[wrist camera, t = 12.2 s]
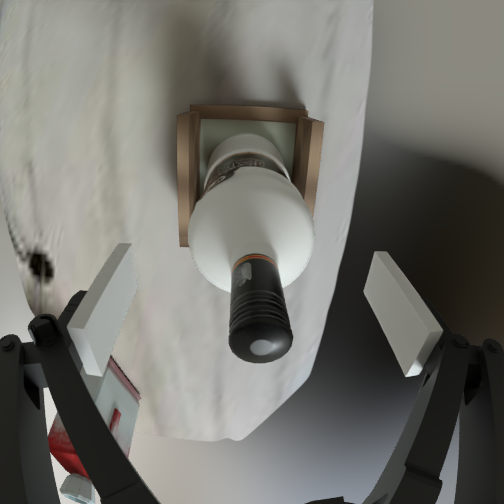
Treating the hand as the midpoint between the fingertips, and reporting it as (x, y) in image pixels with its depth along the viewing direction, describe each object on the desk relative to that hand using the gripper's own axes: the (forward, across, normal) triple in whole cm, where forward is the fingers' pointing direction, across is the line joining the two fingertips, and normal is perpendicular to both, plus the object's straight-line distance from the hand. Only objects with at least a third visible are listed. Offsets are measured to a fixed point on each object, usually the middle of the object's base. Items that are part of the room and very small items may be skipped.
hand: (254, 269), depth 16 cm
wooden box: (+26, 0, -1) cm, 26 cm away
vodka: (+25, 0, -1) cm, 25 cm away
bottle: (+26, -27, -45) cm, 58 cm away
